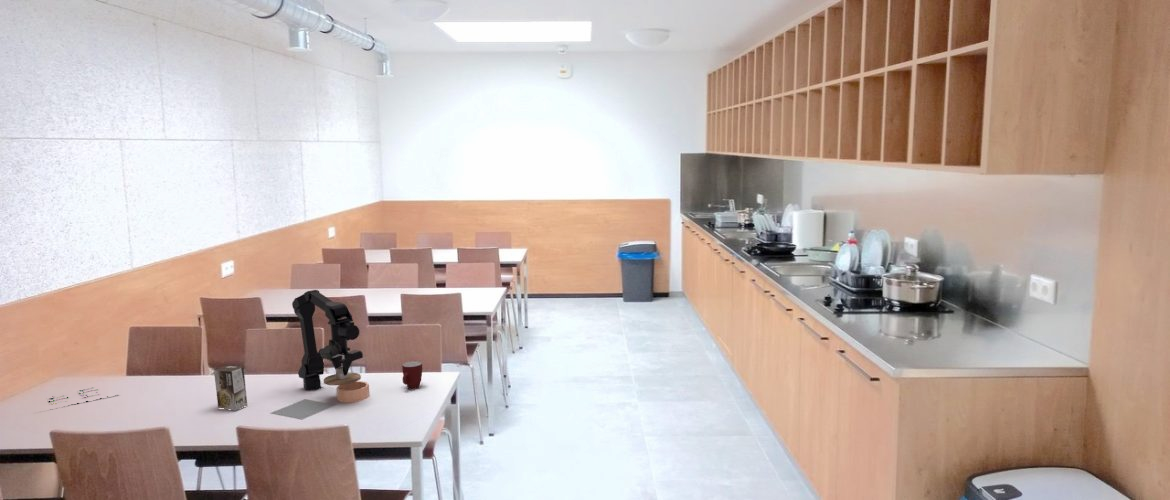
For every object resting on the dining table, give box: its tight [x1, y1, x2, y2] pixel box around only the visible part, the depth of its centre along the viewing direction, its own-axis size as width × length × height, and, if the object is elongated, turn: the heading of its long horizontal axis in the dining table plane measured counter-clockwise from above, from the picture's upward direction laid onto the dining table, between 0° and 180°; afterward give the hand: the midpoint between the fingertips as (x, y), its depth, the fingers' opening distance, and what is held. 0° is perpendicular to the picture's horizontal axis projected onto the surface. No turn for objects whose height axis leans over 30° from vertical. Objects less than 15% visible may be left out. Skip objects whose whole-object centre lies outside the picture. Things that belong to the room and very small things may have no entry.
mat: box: [269, 398, 336, 420], centre depth 285 cm, size 17×17×1 cm
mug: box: [401, 360, 423, 390], centre depth 308 cm, size 10×8×10 cm
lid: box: [323, 365, 362, 386], centre depth 293 cm, size 14×14×5 cm
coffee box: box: [213, 365, 248, 411], centre depth 290 cm, size 9×6×16 cm
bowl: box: [335, 380, 371, 403], centre depth 297 cm, size 12×12×6 cm
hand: (342, 374), depth 293 cm, fingers closed on lid, 3 cm apart
